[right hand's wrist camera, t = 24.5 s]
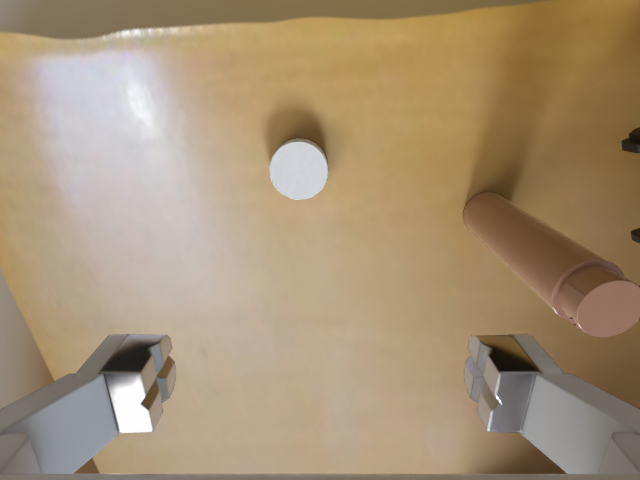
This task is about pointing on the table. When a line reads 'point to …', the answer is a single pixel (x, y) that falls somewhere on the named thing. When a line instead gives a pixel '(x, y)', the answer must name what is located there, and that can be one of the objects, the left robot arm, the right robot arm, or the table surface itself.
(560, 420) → the right robot arm
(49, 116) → the table surface
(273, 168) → the lid
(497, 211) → the tan cylinder
